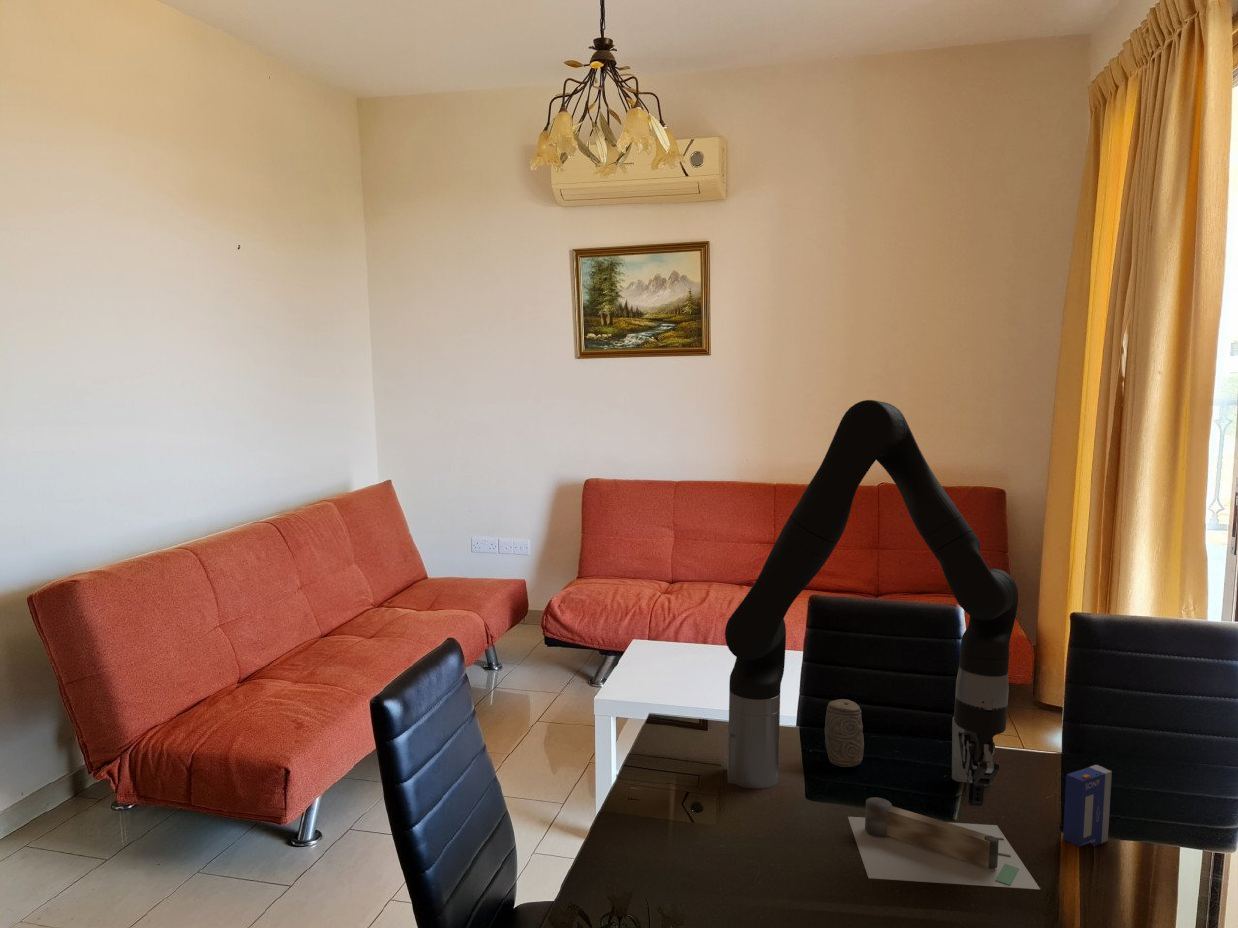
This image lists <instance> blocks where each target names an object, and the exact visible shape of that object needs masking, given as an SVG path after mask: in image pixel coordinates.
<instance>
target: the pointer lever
mask: <svg viewBox="0 0 1238 928" xmlns="http://www.w3.org/2000/svg"><path fill="white" fill-rule="evenodd" d="M864 813H865V815H864V818H865V830H866V831H867V832H868V833H869V834H871V835H874V836H879V837H885V836H891V837H894V838H897V839H900V840H904V841H907V842H910V843H913V844H916V845H919V846H922V847H925V848H928V849H932V850H935V851H938V852H941V853H944V854H947V855H950V856H953V857H956V858H960V859H963V860H966V861H969V862H972V863H975V864H978V865H981V866H984V867H988V868H992V869H995V868H997V865H998V844H999V840H998V839H997V838H996V837H993V836H990V835H987V834H984V833H980V832H977V831H974V830H970V829H967V828H964V827H960V826H957V825H953V824H950V823H951V822H949V823H947V822H948V821H947V822H946V821H943V820H940V819H937V818H936V819H935V818H933V817H930V816H926V815H923V814H919V813H916V812H913V811H910V810H906V809H903V808H899V807H896V806H893V803H891V802H890V801H889V800H887V799H885V798H882V797H869V798H867V799H866V800H865V811H864Z"/></svg>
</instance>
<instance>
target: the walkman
mask: <svg viewBox="0 0 1238 928" xmlns="http://www.w3.org/2000/svg"><path fill="white" fill-rule="evenodd" d="M1112 772H1113V771H1112V770H1110V769H1107V768H1105V767H1103V766H1100V765H1099V764H1094V765H1091V766H1088V767H1085V768H1083V769H1079V770H1076V771H1072V772H1070V773H1067V774H1065V775H1066V776H1065V791H1064V792H1065V793H1064V794H1065V795H1064V799H1065V800H1064V810H1063V812H1064V813H1063V816H1064V817H1063V832H1062V833H1063V834H1062V835H1063V836H1062V839H1063V840H1064V841H1066V842H1068V843H1071V844H1072V845H1074V846H1076V847H1079V848H1080V847H1082V846H1085V845H1087V844H1091V845H1092V847H1096V846H1099V845H1101V844H1104V843H1107V842H1109V841H1108V840H1109V824H1110V810H1111V809H1110V807H1111V791H1112V776H1113V775H1112Z"/></svg>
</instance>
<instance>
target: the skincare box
mask: <svg viewBox="0 0 1238 928" xmlns="http://www.w3.org/2000/svg"><path fill="white" fill-rule="evenodd" d="M951 719H952V724H951V726H952V727H951V734H952V736H951V737H952V738H951V740H952V741H951V742H952V743H951V745H952V746H951V752H952V753H951V778H952V780H953V781H955V782H957V783H966V784H967V779H968V778H966V776H965V769H963V767H962V759H961V751H960V744H959V736H958V733H959V731H963V732H964V729H962V728H960V727H959V726H957V725H956V723H955V722H954V716H953V717H951ZM992 784H993V782H992V783H991V785H990V786H992ZM988 786H989V785H984V787H988Z"/></svg>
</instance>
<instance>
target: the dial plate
mask: <svg viewBox="0 0 1238 928" xmlns="http://www.w3.org/2000/svg"><path fill="white" fill-rule="evenodd" d="M847 818H848V822H849V825H850V828H851V830H852V833H853V836H854V840H855V843H856V846H857V848H858V852H859V854H860V857H861V860H862V863H863V866H864V869H865V872H866V875H867V877H868V879H873V880H890V881H891V880H892V881H904V882H918V883H919V882H920V883H935V884H937V883H938V884H947V885H949V884H951V885H967V886H982V887H996V888H997V887H999V888H1010V889H1011V888H1012V889H1025V890H1039V891H1040V890H1041V887H1040V886H1039V885H1038V883H1037V882H1036V881H1035V879H1034V878H1033V876H1032V875H1031V873H1030V872H1029V870H1028V869H1027V867H1026V866H1025V865H1024V862H1023V861H1022V860H1021V858H1020V857H1019V855H1018V854H1017V852H1016V851H1015V850H1014V848H1013V847H1012V845H1011V844H1010V842H1009V841H1008V840H1007V838H1006V836H1005V835H1004V834H1003V832H1002V831H1001V829H1000V828H999V826H998V825H996V824H980V823H965V822H948V821H947V823H950V824H953V825H957V826H960V827H964V828H967V829H970V830H974V831H977V832H980V833H984V834H987V835H990V836H993V837H996V838H997V839H998V840H999V844H998V865H997V868H995V869H992V868H988V867H984V866H981V865H978V864H975V863H972V862H969V861H966V860H963V859H960V858H956V857H953V856H950V855H947V854H944V853H941V852H938V851H935V850H932V849H928V848H925V847H922V846H919V845H916V844H913V843H910V842H907V841H904V840H900V839H897V838H894V837H891V836H885V837H879V836H874V835H871V834H869V833H868V832H867V831H866V830H865V817H864V816H863V817H862V816H861V817H859V816H847Z"/></svg>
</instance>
